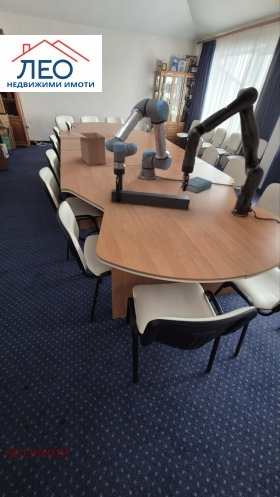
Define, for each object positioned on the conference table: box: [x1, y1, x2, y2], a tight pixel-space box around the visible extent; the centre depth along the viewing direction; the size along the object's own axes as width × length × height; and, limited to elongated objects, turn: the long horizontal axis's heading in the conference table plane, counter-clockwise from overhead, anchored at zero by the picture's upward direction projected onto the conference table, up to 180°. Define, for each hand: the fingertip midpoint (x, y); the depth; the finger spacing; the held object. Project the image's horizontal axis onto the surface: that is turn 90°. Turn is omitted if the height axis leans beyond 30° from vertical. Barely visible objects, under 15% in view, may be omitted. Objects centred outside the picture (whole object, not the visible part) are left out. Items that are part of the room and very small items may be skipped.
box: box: [70, 129, 114, 166], centre depth 229 cm, size 44×36×27 cm
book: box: [180, 176, 213, 194], centre depth 191 cm, size 23×16×5 cm
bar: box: [110, 188, 191, 211], centre depth 157 cm, size 55×5×8 cm, turn 84°
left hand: (119, 200), depth 160 cm, fingers open, 6 cm apart
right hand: (183, 188), depth 150 cm, fingers open, 8 cm apart
